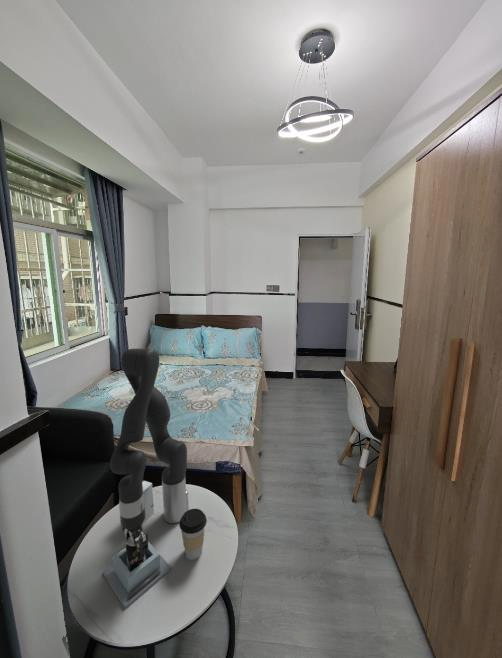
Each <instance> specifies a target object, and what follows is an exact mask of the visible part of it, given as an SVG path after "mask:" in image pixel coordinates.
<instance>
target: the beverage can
mask: <svg viewBox="0 0 502 658" xmlns="http://www.w3.org/2000/svg"><path fill="white" fill-rule="evenodd" d="M139 537H140V536H139ZM139 537H138V538H136V539H135V541H136V540H138V539H139ZM138 545H139V543H138ZM125 548H126V554H127V566H128V570H129V571H130V572H131V571H133V570H134V569H135V568H137V567H138V566H139V565H141V564H142V563H143V562H144V561H146V557H144V558H142V559H141V560H140V561H139V560H138V559H137V549H136V545H134V544H133V541H132V538H131V536H130V537H129V539H128V541H126V545H125Z"/></svg>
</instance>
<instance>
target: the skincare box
mask: <svg viewBox="0 0 502 658" xmlns="http://www.w3.org/2000/svg"><path fill="white" fill-rule="evenodd" d="M142 486H143V495H144V502H145V520H144V522H143V523H142V527H144V526H145V524H146V523H147V522H148V521H149V520H150V519H151V518H152V517H153V516H154V515H155V511H154V510H155V509H154V508H155V507H154V493H153V483H152V482H149V481H147V480H143V481H142Z"/></svg>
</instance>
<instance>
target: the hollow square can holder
mask: <svg viewBox="0 0 502 658" xmlns="http://www.w3.org/2000/svg"><path fill="white" fill-rule="evenodd" d="M111 557H112V564H111V565H109V566H108V567H106V568H105V569H104V570H103V571H102V574H103V576H104V578H105V579H106V581H107V582H108V584H109V586H110V587H111V590H112V591H113V592H114V594H115V595H116V597H117V599H118V601H120V604H121V605H122V607H123V608H124V610H127V608H129V607H130V606H131V605H132V604H133V603H135V602H136V601H137V600H138V599H139V598H140V597H142V595H144V594H145V593H147V591H149V589H151V588H152V587H153V586H154V585H156V584H157V583H158V582H159V581H160V580H161V579H162V578H163V577H165V576H166V575H167V574H168V573H170V571H171V570H172V567H171V566H170V564H169V563H168V562H167V561H166V560H165V559H164V557H162V555H161V554H160V553H159V551H158V550H157V549H156V548H155V547H154V546H153V545H152V544H151V543H150V541H149V540H148V549H147V550H146V551H145V557H146V561H144V562H143V563H142V564H141V565H139V566H138V567H137V568H135V569H134V570H133V571H131V572H130V571H129V570H128V566H127V554H126V547H124V548H123V549H121V550H120V551H119V552H116V553H115V554H114V555H113V556H111Z"/></svg>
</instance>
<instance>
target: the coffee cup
mask: <svg viewBox="0 0 502 658" xmlns="http://www.w3.org/2000/svg"><path fill="white" fill-rule="evenodd" d="M207 522H208V520H207V516H206V514H205V512H204V511H202V510H201V509H200V508H191V509H190V508H189V510H188V511H186V512H185V513H184V514H183V516H182V517H181V519H180V522H179V529H180V530H181V537H182V543H183V547H184V552H185V556H186V557H185V558H186V559H188V560H189V561H195V560H198V559H199V558H200V557H201V556H202V554H203V546H204V539H205V527H206V525H207Z"/></svg>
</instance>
